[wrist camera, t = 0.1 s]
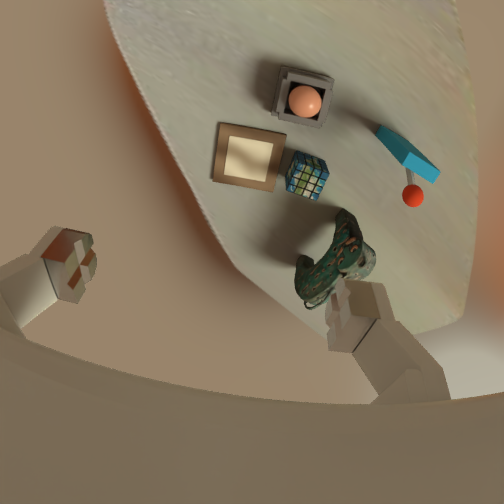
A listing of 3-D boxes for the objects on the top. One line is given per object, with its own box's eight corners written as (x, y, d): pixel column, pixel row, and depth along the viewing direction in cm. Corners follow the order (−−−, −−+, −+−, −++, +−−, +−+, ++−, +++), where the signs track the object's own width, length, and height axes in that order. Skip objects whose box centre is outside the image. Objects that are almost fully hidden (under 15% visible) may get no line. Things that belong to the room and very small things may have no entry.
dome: (291, 81, 43) (293, 85, 39) (321, 88, 44) (327, 93, 39) (285, 109, 47) (286, 116, 42) (314, 116, 47) (319, 124, 43)
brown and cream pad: (221, 122, 52) (220, 123, 52) (286, 134, 53) (286, 135, 52) (213, 179, 60) (212, 181, 59) (273, 190, 61) (273, 192, 60)
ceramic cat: (344, 199, 61) (366, 263, 45) (366, 215, 62) (392, 280, 47) (288, 261, 72) (290, 330, 56) (310, 272, 74) (316, 341, 58)
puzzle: (325, 160, 56) (330, 173, 51) (313, 186, 60) (316, 201, 55) (296, 149, 55) (298, 161, 50) (284, 176, 59) (285, 190, 54)
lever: (363, 155, 54) (393, 201, 40) (380, 124, 50) (419, 161, 36) (391, 169, 55) (426, 218, 41) (408, 141, 51) (451, 182, 37)
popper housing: (281, 65, 45) (282, 68, 40) (332, 78, 46) (339, 82, 41) (271, 112, 51) (270, 120, 46) (320, 123, 51) (325, 133, 47)
